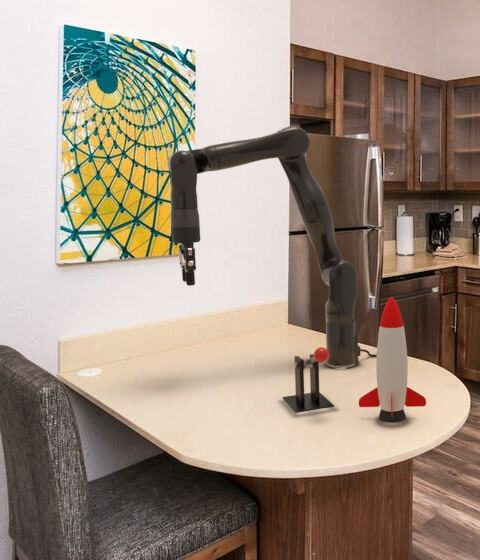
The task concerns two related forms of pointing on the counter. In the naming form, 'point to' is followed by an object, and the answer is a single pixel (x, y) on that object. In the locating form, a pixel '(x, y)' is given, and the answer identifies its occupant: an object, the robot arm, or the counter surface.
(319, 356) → the lever
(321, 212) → the robot arm
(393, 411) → the toy rocket
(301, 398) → the bracket
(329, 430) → the counter surface
